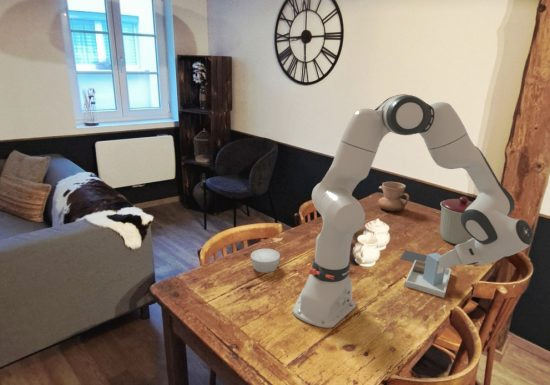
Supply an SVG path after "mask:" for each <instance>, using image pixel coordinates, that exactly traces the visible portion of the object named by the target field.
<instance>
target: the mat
mask: <svg viewBox="0 0 550 385" xmlns="http://www.w3.org/2000/svg"><path fill="white" fill-rule="evenodd" d="M426 257H427V254H422V253H418V252H415V251H414V252H413V251H412V250H411V251H410V250H406V249H405V250H404V251H403V253H402V254H401V257H400V258H399V259H400V260H403V261H406V262H410V263H414V261H415V260H418V261H422V262H426Z"/></svg>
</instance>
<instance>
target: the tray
mask: <svg viewBox="0 0 550 385" xmlns="http://www.w3.org/2000/svg"><path fill="white" fill-rule="evenodd" d="M417 261H418V260H417ZM415 262H416V260H415V261H414V262H412V266H411V268H410V270H409V272H408V275H407V276H406V279H405V281H404V287H406V288H410V289H412V290H416V291H419V292H424V293H426V294H430V295H434V296H436V297H440V298H445V295H446V292H447V288H448V284H449V282H450V281H449V280H450V277H451V274H452V273H451V272H452V269H451V268H450V267H449V268H445V272H444V277H443V282H442V283H441V284H437V285H434V286H433V285H431V284H430V283H428V282H427V281H425V280H424V279H423V274H420V273H417V272H413V268H414V264H415ZM421 262H422V261H421ZM425 263H426V261H425Z"/></svg>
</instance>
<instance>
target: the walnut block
mask: <svg viewBox="0 0 550 385" xmlns="http://www.w3.org/2000/svg"><path fill="white" fill-rule="evenodd" d="M425 262H426V261H425ZM425 262H421V261H417V260H416V262H415V264H414V268H413V272H417V273H420V274H424V269H425Z"/></svg>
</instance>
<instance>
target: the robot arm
mask: <svg viewBox="0 0 550 385" xmlns="http://www.w3.org/2000/svg"><path fill="white" fill-rule="evenodd" d="M455 110H456V109H454V108H453V107H452V105H451V104H450V103H448V102H444V101H443V102H442V101H440V102H439V101H438V102H434V103H431V104H429V103H427V102H425V101H424V100H422V99H421V98H420V97H417V96H416V95H415V96H414V95H411V94H406V93H405V94H403V93H402V94H395V95H393V96H390V97H389V98H387V99H385V100H384V101H383V102H382V103H380V105H378V106H377V107H376V108H375V109H372V108H371V109H370V108H360V109H358V110H356V111H355V112H353V115H352V116H351V118H350V119H349V121H348V123H347V125H346V128H345V130H344V131H343V134H342V136H341V138H340V142H339V144H338V147H337V149H336V150H337V151H336V153H335V155H334V158H333V160H332V162H331V165H330V167H329V169H328V170H327V171H326V174H325V175H324V177H323V178H322V180H321V181H320V182H318V183H317V184H316V185H315V186H314V187H313V189H312V192H311V200H312V203H313V206H314V208H315V210H316V211H317V212H318V213H319V215H320V216H321V219H322V228H321V231H320V233H319V234H318V235H317V236H316V238H315V250H314V254H315V255H314V257H313V261H312V264H311V267H310V268H309V270H308V274H309V275H308V277H307V280H306V282H305V284H304V286H303V288H302V290H301V292H300V294H299V295H298V298H297V300H296V301H295V303H294V306H293V309H292V314H293V315H294V316H295V317H296V318H298V319H300V320H301V321H303V322H305V323H308V324H310V325H314V326H315V327H316V326H317V327H319V328H330V329H331V328H334V327H335V326H336V325H337V324H338V323H340V321H342V320H343V319H344V318H345V317H346V316H348V314H350V313H351V312H352V311H353V310H355V308H356V307H357V304H356V302H355V301H354V299H353V284H354V283H353V282H352V280H351V277H350V270H351V262H350V255H351V249H352V248H351V245H352V242H353V238H354V235H355V233H357V232H358V231H359V230H361V229H362V227H363V226H364V224H365V222H366V213H365V211H364V208H363V206H362V205H361V203H360V201H359V200H358V199H357V198H356V197H354V195H352V194H353V192H354V190H355V188H356V187H357V185H358V184H359V183H360V182H361V181H363V180H365V179H367V177H368V176H369V172H370V171H371V168H372V166H373V163H374V160H375V158H376V155H377V152H378V150H379V147H380V144H381V142H382V140H383V139H384V137H385V136H387V134H390V133H393V134H395V135H400V136H412V135H416V134H419V135H420V136H421V138H422V139H423V141H424V143H425V146H426V147H427V151H428V152H429V154H430V157H431V159H432V160H433V162H435V164H436V165H437V166H439V167H440V168H443V169H447V170H454V169H455V170H457V169H464V170H465V171H466V172H467V174H468V176H469V177H470V179H471V181H472V182H473V184H474V185H475V187H476V189H477V195H476V198H475V200H473V201H472V202H473V203H472V204H470V205H469V206H468V208H467V209H466V210H465V211H464V212H463V213H462V215H461V224H462V226H463V228H464V229H465V230H466V231H467V232H468V233H469V234H470V235H471V236H472V237H473V238H472V239H470V240H468V241H467V242H464V243H461V244H458V245H457V244H455V246H454V248H453V249H451V250H449V251H447V252H445V253H444V254H441V256H440V257H439V262H440V263H439V265H440V267H441V268H449V269H450V268H454V267H457V266H461V265H462V266H471V265H472V266H473V265H481V266H487V265H489V264H492V263H494V262H498V261H500V260H501V259H503V258H505V257H511V256H513V255H515V254H518V253H520V252H522V251H524V250H526V249H528V248H529V247H530V246H531V245H532V243H533V241H534V232H533V229H532V227H531V226H530V224H529V223H528V222H527V220H524V219H522V218H521V219H519V218H513V217H510V215H511V214H512V213H513V211H514V209H515V200H514V197H513V195H511V193H510V192H509V191H508V190H507V189H506V188H505V187H504V186H503V184H501V183H500V181H499V179H498V177H497V175H496V174H495V173H494V170H493V168H492V167H491V165H490V163H489V161H488V160H487V158H486V157H485V155H484V153H483V152H482V151H481V149H480V148H479V147H478V146H476V145H475V144H474V143H473V141H472V140H471V137H470V136H469V133H468V132H467V129H466V128H465V125H464V123H463V121H462V120H461V118H460V116H459V115H458V113H457V111H455Z"/></svg>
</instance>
